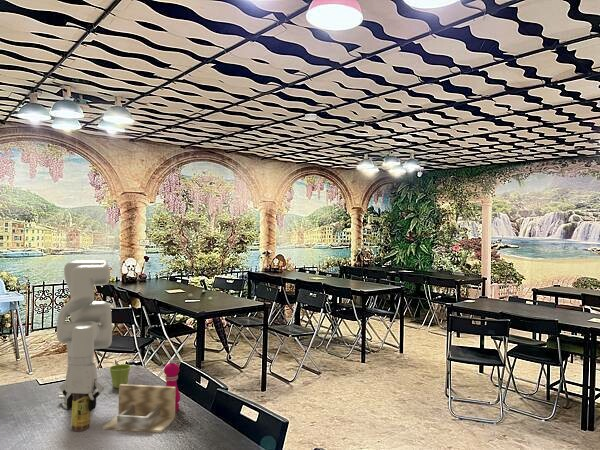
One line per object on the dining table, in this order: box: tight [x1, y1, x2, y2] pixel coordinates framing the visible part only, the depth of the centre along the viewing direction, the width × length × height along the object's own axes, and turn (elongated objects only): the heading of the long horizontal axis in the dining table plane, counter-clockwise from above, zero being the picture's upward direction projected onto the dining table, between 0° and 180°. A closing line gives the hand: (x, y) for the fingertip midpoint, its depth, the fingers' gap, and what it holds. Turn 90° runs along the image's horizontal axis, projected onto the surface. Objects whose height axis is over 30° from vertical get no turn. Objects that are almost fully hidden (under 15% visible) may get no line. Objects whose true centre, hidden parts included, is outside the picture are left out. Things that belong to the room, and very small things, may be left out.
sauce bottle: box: [70, 393, 92, 432], centre depth 168 cm, size 6×6×20 cm
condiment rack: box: [102, 383, 176, 434], centre depth 173 cm, size 22×13×12 cm, turn 84°
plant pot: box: [108, 363, 132, 389], centre depth 215 cm, size 9×9×9 cm
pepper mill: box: [163, 359, 181, 412], centre depth 188 cm, size 7×7×20 cm
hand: (81, 408), depth 168 cm, fingers open, 7 cm apart
